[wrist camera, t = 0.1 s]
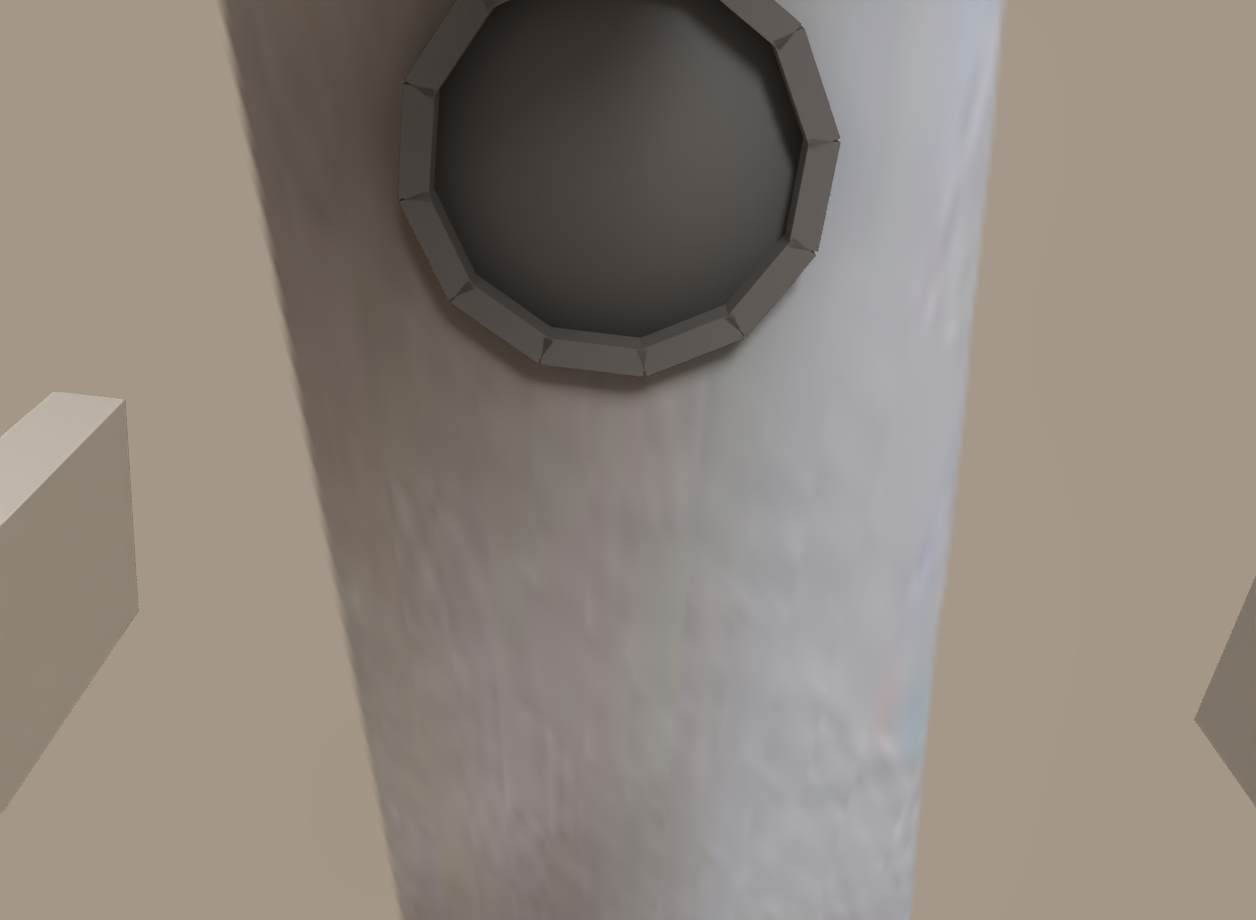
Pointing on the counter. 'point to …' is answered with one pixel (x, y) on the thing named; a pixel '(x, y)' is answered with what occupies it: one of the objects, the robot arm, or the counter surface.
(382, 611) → the counter surface
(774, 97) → the coaster ring
